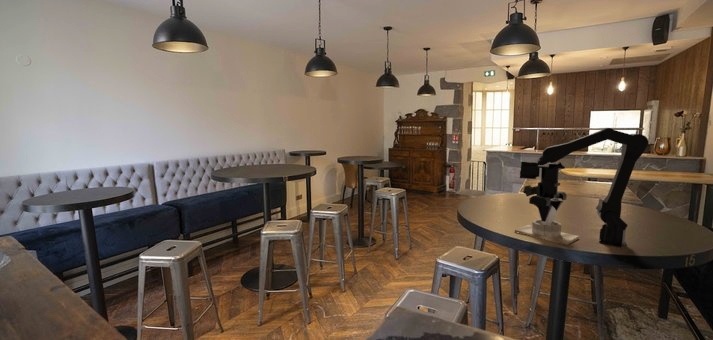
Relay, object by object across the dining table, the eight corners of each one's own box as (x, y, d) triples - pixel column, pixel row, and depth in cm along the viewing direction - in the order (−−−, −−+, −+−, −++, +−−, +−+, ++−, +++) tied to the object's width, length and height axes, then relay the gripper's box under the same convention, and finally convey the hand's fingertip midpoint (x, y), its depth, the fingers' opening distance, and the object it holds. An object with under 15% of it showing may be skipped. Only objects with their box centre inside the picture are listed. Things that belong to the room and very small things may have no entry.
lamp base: (578, 238, 128) (579, 225, 127) (567, 244, 121) (568, 231, 120) (527, 227, 142) (528, 215, 142) (514, 232, 136) (515, 220, 135)
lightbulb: (547, 235, 128) (549, 207, 126) (533, 231, 133) (535, 203, 132) (559, 233, 130) (560, 205, 128) (544, 229, 135) (546, 202, 134)
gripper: (538, 175, 141) (536, 212, 143) (516, 180, 129) (514, 219, 131) (568, 178, 132) (565, 217, 134) (547, 183, 121) (544, 226, 123)
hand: (547, 219), depth 131 cm, fingers closed on lightbulb, 6 cm apart
